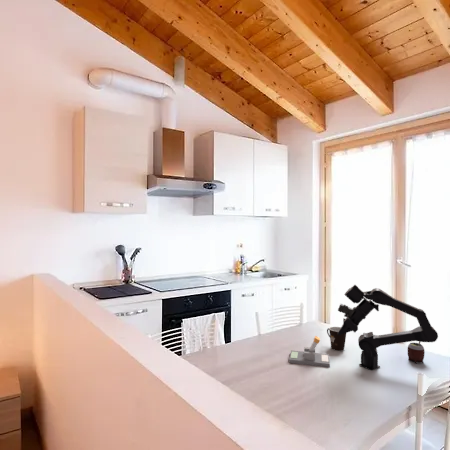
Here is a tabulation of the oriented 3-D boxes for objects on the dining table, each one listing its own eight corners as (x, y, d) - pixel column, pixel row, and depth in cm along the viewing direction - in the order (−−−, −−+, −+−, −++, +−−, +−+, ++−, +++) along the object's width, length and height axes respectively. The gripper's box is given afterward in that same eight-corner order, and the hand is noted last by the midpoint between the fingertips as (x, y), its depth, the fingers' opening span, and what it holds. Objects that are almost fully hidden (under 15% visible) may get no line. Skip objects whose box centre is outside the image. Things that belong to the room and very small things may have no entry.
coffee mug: (348, 351, 177) (349, 332, 176) (331, 351, 177) (331, 331, 177) (341, 343, 188) (341, 325, 188) (325, 343, 188) (325, 325, 188)
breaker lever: (310, 355, 167) (319, 338, 166) (310, 358, 164) (319, 340, 163) (306, 352, 168) (315, 335, 166) (306, 355, 164) (315, 338, 163)
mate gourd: (407, 362, 164) (407, 330, 164) (407, 356, 171) (407, 326, 171) (425, 365, 161) (426, 333, 160) (425, 359, 168) (425, 328, 167)
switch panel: (328, 357, 169) (329, 348, 169) (329, 367, 157) (329, 357, 157) (291, 353, 174) (291, 344, 174) (289, 362, 162) (289, 353, 162)
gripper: (347, 295, 171) (325, 318, 173) (347, 300, 153) (323, 325, 156) (366, 312, 167) (343, 334, 170) (368, 319, 150) (343, 344, 153)
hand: (338, 334), depth 162 cm, fingers closed
